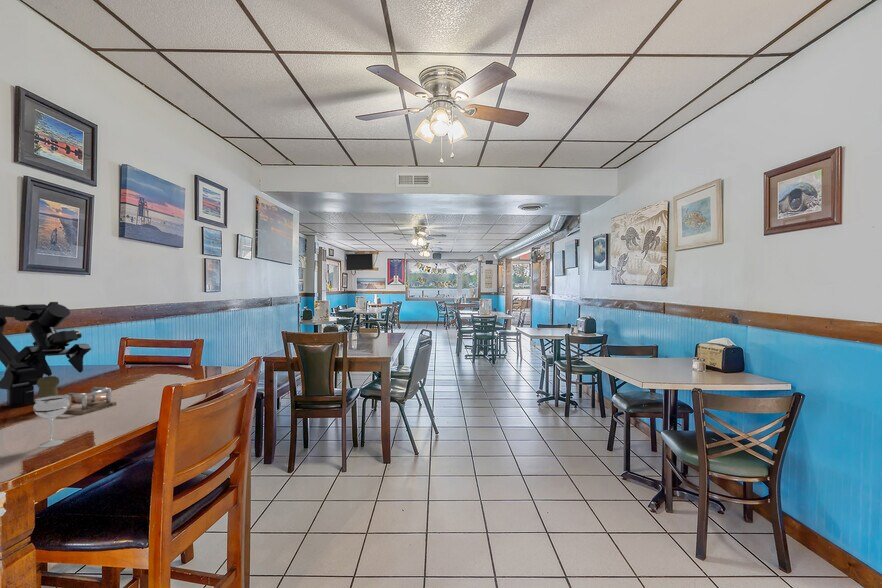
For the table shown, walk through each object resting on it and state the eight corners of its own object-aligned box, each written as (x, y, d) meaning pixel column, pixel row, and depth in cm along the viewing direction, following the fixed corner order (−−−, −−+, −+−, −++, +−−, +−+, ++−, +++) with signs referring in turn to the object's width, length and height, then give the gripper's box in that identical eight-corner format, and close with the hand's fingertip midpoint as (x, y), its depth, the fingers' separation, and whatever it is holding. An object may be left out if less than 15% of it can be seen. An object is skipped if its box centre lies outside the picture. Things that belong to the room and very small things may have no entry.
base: (59, 412, 126) (59, 409, 126) (94, 403, 136) (94, 400, 136) (83, 414, 124) (83, 411, 124) (116, 404, 135) (116, 402, 135)
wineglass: (70, 443, 101) (71, 397, 101) (32, 451, 96) (34, 402, 96) (67, 436, 106) (68, 392, 106) (31, 443, 100) (32, 397, 100)
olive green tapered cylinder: (65, 407, 131) (66, 375, 131) (45, 413, 125) (46, 379, 125) (49, 406, 131) (50, 374, 131) (28, 412, 125) (29, 378, 125)
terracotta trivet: (66, 401, 137) (67, 399, 137) (95, 394, 147) (95, 392, 147) (91, 403, 136) (91, 400, 136) (118, 396, 146) (118, 393, 146)
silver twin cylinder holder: (64, 408, 126) (65, 393, 126) (93, 401, 135) (94, 386, 135) (83, 410, 125) (84, 394, 125) (111, 402, 134) (112, 387, 134)
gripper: (29, 320, 120) (51, 361, 118) (91, 321, 139) (112, 356, 136) (4, 342, 121) (25, 383, 119) (69, 340, 140) (89, 375, 137)
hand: (66, 373), depth 128 cm, fingers open, 9 cm apart
